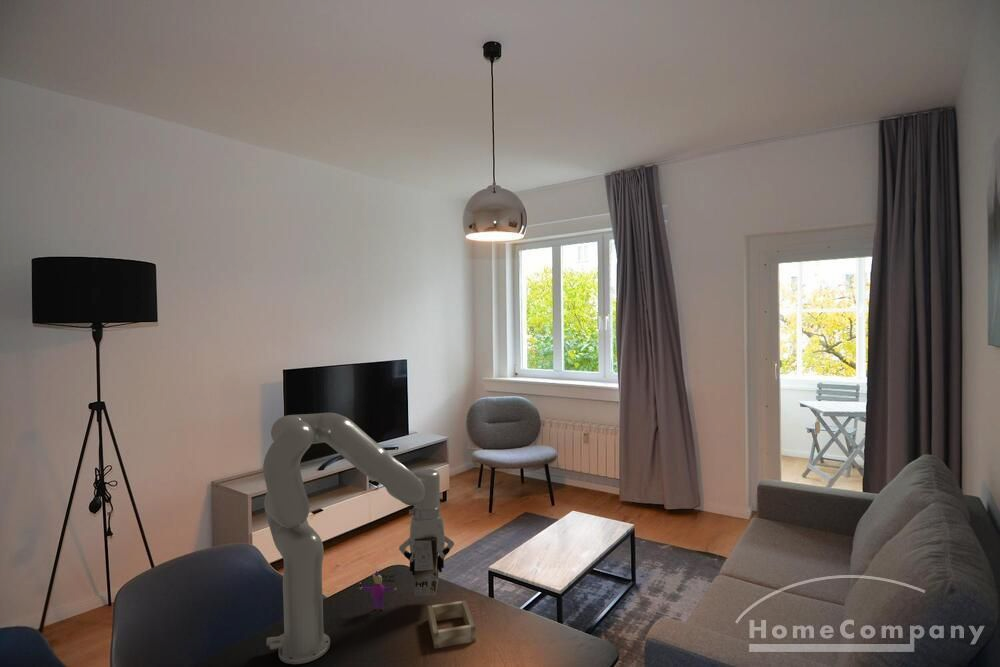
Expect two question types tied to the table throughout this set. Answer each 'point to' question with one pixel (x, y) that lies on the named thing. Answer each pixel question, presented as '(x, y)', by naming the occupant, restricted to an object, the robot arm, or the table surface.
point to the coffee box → (426, 567)
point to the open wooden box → (456, 633)
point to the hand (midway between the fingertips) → (426, 571)
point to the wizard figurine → (378, 588)
